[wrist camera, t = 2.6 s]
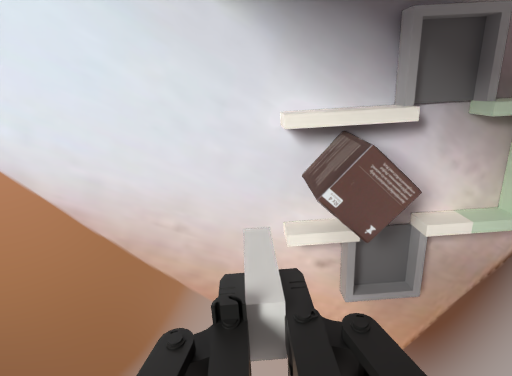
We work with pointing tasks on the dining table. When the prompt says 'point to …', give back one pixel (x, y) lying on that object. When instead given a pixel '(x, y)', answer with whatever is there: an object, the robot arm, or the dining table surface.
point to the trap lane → (406, 95)
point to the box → (359, 185)
